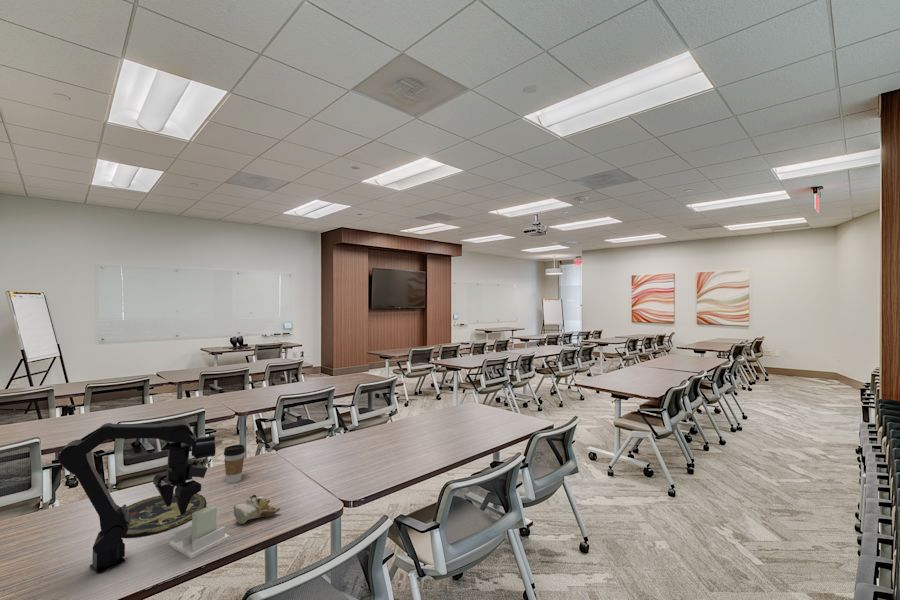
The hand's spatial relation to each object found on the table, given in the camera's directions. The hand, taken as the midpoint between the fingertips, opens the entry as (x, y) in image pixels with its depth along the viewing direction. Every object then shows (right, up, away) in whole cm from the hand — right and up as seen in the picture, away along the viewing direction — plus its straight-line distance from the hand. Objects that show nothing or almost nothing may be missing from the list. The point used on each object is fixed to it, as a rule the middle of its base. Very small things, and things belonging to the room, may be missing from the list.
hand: (175, 510), depth 127 cm
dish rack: (+7, -12, +2) cm, 14 cm away
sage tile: (+9, -11, +1) cm, 14 cm away
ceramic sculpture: (+17, -12, +17) cm, 27 cm away
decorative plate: (-19, -13, +19) cm, 30 cm away
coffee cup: (-8, -13, +48) cm, 50 cm away
